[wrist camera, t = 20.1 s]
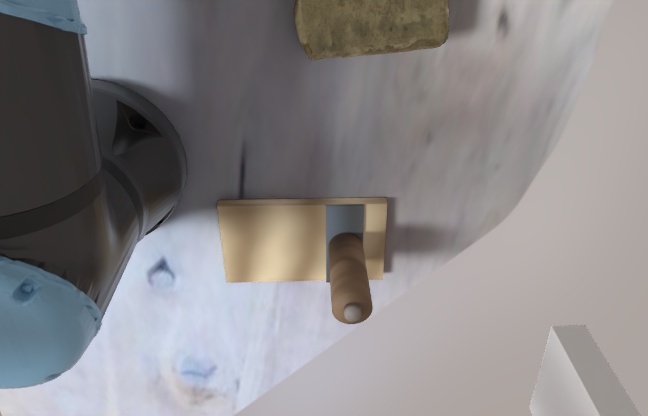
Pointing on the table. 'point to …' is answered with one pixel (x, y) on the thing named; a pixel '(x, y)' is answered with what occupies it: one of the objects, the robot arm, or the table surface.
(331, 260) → the brown wooden cylinder
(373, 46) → the stone block
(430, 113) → the table surface
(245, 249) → the flat metallic slab
